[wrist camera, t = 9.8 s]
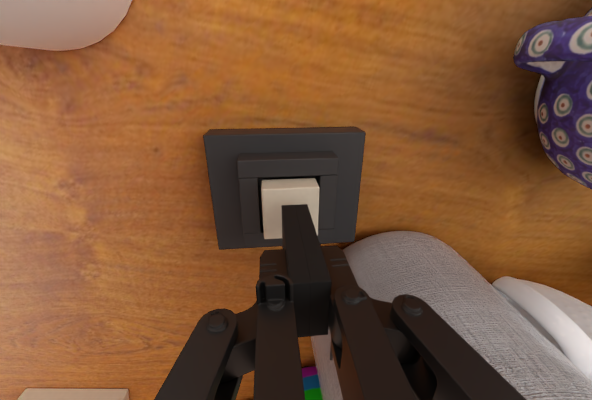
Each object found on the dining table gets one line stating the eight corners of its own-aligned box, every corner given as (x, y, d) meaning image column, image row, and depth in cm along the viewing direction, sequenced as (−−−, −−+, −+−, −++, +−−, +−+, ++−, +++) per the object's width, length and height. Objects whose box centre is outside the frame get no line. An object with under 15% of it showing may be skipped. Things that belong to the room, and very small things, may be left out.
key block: (222, 235, 24) (214, 264, 20) (209, 129, 20) (196, 141, 16) (347, 228, 25) (361, 255, 21) (356, 126, 21) (375, 137, 17)
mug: (421, 278, 28) (535, 426, 16) (522, 216, 26) (736, 333, 14) (473, 349, 34) (585, 498, 22) (559, 303, 32) (733, 438, 20)
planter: (357, 365, 33) (427, 584, 19) (271, 288, 27) (278, 529, 13) (479, 294, 30) (670, 490, 16) (414, 190, 24) (632, 359, 10)
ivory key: (264, 226, 20) (263, 239, 18) (261, 179, 18) (261, 189, 17) (313, 224, 20) (318, 236, 18) (315, 177, 18) (319, 186, 17)
